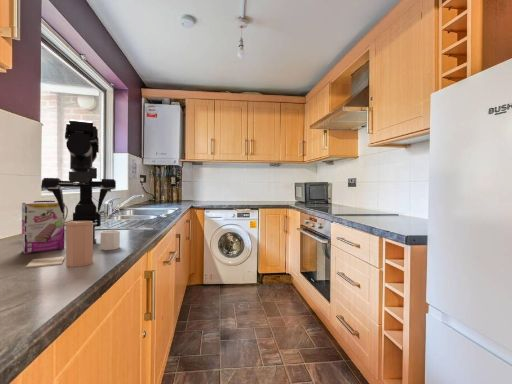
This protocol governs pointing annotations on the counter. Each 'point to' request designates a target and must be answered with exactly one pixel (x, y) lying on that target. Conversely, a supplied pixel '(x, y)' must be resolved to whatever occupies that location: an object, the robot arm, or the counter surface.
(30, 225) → the candy bar box
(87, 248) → the brown rounded shape
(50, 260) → the coaster
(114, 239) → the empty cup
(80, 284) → the counter surface
